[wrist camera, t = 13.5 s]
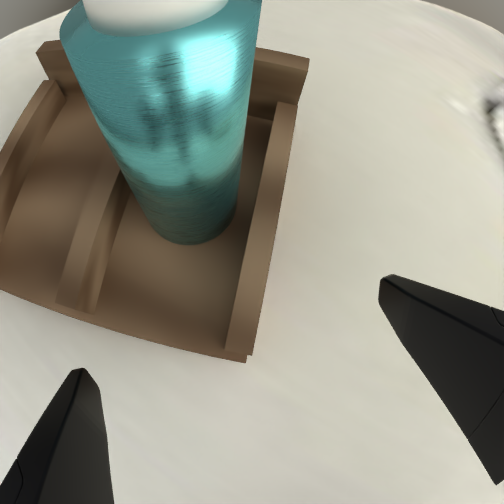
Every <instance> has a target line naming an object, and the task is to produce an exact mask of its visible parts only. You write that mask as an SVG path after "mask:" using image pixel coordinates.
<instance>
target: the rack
mask: <svg viewBox="0 0 504 504" xmlns="http://www.w3.org/2000/svg"><path fill="white" fill-rule="evenodd" d="M36 54H37V56H38V58H39V60H40V62H41V64H42V66H43V68H44V70H45V72H46V74H47V76H48V78H49V80H44V81H43V82H42V84H41V85H40V86H39V88H38V89H37V91H36V92H35V94H34V95H33V97H32V98H31V100H30V101H29V103H28V105H27V106H26V108H25V109H24V111H23V113H22V114H21V116H20V118H19V119H18V121H17V123H16V124H15V126H14V128H13V130H12V131H11V133H10V135H9V137H8V139H7V140H6V142H5V144H4V146H3V148H2V150H1V152H0V290H3V291H5V292H8V293H10V294H12V295H15V296H17V297H20V298H22V299H25V300H27V301H30V302H32V303H35V304H37V305H40V306H43V307H45V308H48V309H51V310H53V311H56V312H59V313H62V314H65V315H67V316H70V317H73V318H76V319H79V320H82V321H85V322H88V323H91V324H94V325H97V326H100V327H103V328H107V329H110V330H113V331H116V332H120V333H123V334H126V335H130V336H133V337H137V338H140V339H144V340H148V341H151V342H155V343H159V344H163V345H166V346H170V347H174V348H178V349H182V350H186V351H191V352H195V353H199V354H204V355H208V356H213V357H217V358H222V359H227V360H231V361H236V362H241V363H246V359H247V355H251V356H252V353H253V348H254V343H255V338H256V333H257V328H258V323H259V318H260V313H261V307H262V302H263V297H264V292H265V287H266V282H267V276H268V271H269V266H270V261H271V255H272V250H273V245H274V239H275V234H276V228H277V223H278V217H279V212H280V206H281V201H282V195H283V190H284V184H285V178H286V173H287V167H288V161H289V156H290V150H291V144H292V138H293V132H294V126H295V120H296V114H297V108H298V106H297V104H298V101H299V98H300V95H301V92H302V88H303V85H304V82H305V79H306V76H307V72H308V67H309V60H310V59H309V58H305V57H301V56H296V55H292V54H288V53H283V52H278V51H273V50H268V49H263V48H258V47H256V48H255V55H254V63H253V71H252V79H251V87H250V95H249V103H248V111H247V119H246V127H245V136H244V144H243V153H242V162H241V171H240V180H239V189H238V198H237V206H236V211H235V215H234V217H233V219H232V221H231V223H230V224H229V226H228V227H227V228H226V229H225V230H224V231H223V232H222V233H221V234H220V235H219V236H217V237H216V238H214V239H212V240H210V241H208V242H205V243H202V244H198V245H179V244H175V243H172V242H170V241H168V240H166V239H164V238H163V237H161V236H160V235H159V234H158V233H157V232H156V231H155V230H154V229H153V228H152V226H151V224H150V223H149V221H148V219H147V217H146V216H145V214H144V212H143V210H142V208H141V207H140V205H139V203H138V201H137V199H136V197H135V196H134V194H133V192H132V190H131V188H130V186H129V184H128V183H127V181H126V179H125V177H124V175H123V173H122V171H121V169H120V167H119V166H118V164H117V162H116V160H115V158H114V156H113V154H112V152H111V150H110V148H109V146H108V144H107V142H106V140H105V138H104V136H103V134H102V132H101V130H100V128H99V126H98V124H97V122H96V119H95V117H94V115H93V113H92V111H91V109H90V107H89V105H88V103H87V100H86V98H85V96H84V94H83V92H82V89H81V87H80V85H79V83H78V81H77V78H76V76H75V74H74V72H73V69H72V67H71V65H70V62H69V60H68V58H67V55H66V53H65V50H64V48H63V46H62V43H61V40H54V41H46V42H44V43H43V44H42V46H41V47H40V48H39V49H38V50H37V52H36Z"/></svg>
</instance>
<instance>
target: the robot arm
mask: <svg viewBox="0 0 504 504" xmlns="http://www.w3.org/2000/svg"><path fill="white" fill-rule="evenodd" d="M378 301H379V305H380V307H381V309H382V310H383V312H384V314H385V315H386V317H387V319H388V320H389V322H390V324H391V326H392V327H393V329H394V331H395V332H396V334H397V336H398V338H399V339H400V341H401V343H402V344H403V345H404V347H405V348H406V350H407V351H408V353H409V354H410V355H411V357H412V358H413V359H414V361H415V362H416V364H417V365H418V366H419V368H420V369H421V371H422V372H423V374H424V375H425V376H426V378H427V379H428V381H429V382H430V384H431V385H432V387H433V388H434V389H435V391H436V392H437V394H438V395H439V397H440V398H441V400H442V401H443V403H444V404H445V406H446V407H447V409H448V410H449V412H450V413H451V415H452V416H453V418H454V419H455V421H456V422H457V424H458V425H459V427H460V428H461V430H462V432H463V433H464V435H465V436H466V438H467V439H468V441H469V443H470V444H471V446H472V448H473V449H474V451H475V452H476V454H477V456H478V457H479V459H480V461H481V462H482V464H483V466H484V467H485V469H486V471H487V472H488V474H489V476H490V477H491V479H492V481H493V482H494V484H495V485H497V484H499V483H500V482H501V481H503V480H504V311H502V310H499V309H496V308H494V307H490V306H488V305H485V304H482V303H479V302H476V301H473V300H470V299H467V298H464V297H461V296H458V295H455V294H452V293H449V292H446V291H443V290H440V289H437V288H434V287H431V286H428V285H425V284H422V283H419V282H416V281H413V280H410V279H407V278H404V277H400V276H397V275H394V274H391V275H388V276H386V277H383V278H382V279H381V280H380V287H379V297H378ZM0 504H114V498H113V490H112V483H111V474H110V464H109V454H108V442H107V433H106V427H105V421H104V415H103V409H102V402H101V394H100V390H99V387H98V385H97V384H96V382H95V381H94V380H93V378H92V377H91V375H90V374H89V373H88V371H87V370H86V369H85V368H79V369H74V370H72V371H71V372H70V373H69V375H68V376H67V378H66V379H65V381H64V382H63V384H62V385H61V387H60V388H59V390H58V391H57V393H56V394H55V396H54V397H53V399H52V400H51V402H50V403H49V405H48V407H47V408H46V410H45V411H44V413H43V414H42V416H41V418H40V419H39V421H38V423H37V424H36V426H35V427H34V429H33V431H32V432H31V434H30V436H29V437H28V439H27V441H26V442H25V444H24V446H23V447H22V449H21V451H20V453H19V454H18V456H17V459H15V461H14V463H13V465H12V466H11V468H10V470H9V472H8V473H7V475H6V477H5V478H4V480H3V482H2V483H1V485H0Z"/></svg>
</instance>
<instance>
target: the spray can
mask: <svg viewBox="0 0 504 504" xmlns="http://www.w3.org/2000/svg"><path fill="white" fill-rule="evenodd" d="M261 4H262V0H81V1H79V2H78V3H77V4H76V5H75V6H74V7H73V8H72V9H71V10H70V12H69V13H68V14H67V16H66V17H65V18H64V20H63V22H62V24H61V28H60V40H61V43H62V46H63V48H64V50H65V53H66V55H67V58H68V60H69V62H70V65H71V67H72V69H73V72H74V74H75V76H76V78H77V81H78V83H79V85H80V87H81V89H82V92H83V94H84V96H85V98H86V100H87V103H88V105H89V107H90V109H91V111H92V113H93V115H94V117H95V119H96V122H97V124H98V126H99V128H100V130H101V132H102V134H103V136H104V138H105V140H106V142H107V144H108V146H109V148H110V150H111V152H112V154H113V156H114V158H115V160H116V162H117V164H118V166H119V167H120V169H121V171H122V173H123V175H124V177H125V179H126V181H127V183H128V184H129V186H130V188H131V190H132V192H133V194H134V196H135V197H136V199H137V201H138V203H139V205H140V207H141V208H142V210H143V212H144V214H145V216H146V217H147V219H148V221H149V223H150V224H151V226H152V228H153V229H154V230H155V231H156V232H157V233H158V234H159V235H160V236H161V237H163V238H164V239H166V240H168V241H170V242H172V243H175V244H179V245H198V244H202V243H205V242H208V241H210V240H212V239H214V238H216V237H217V236H219V235H220V234H221V233H222V232H223V231H224V230H225V229H226V228H227V227H228V226H229V224H230V223H231V221H232V219H233V217H234V215H235V211H236V206H237V198H238V189H239V180H240V171H241V162H242V153H243V144H244V136H245V127H246V119H247V111H248V103H249V95H250V87H251V79H252V71H253V63H254V55H255V48H256V40H257V33H258V26H259V18H260V11H261Z"/></svg>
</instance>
